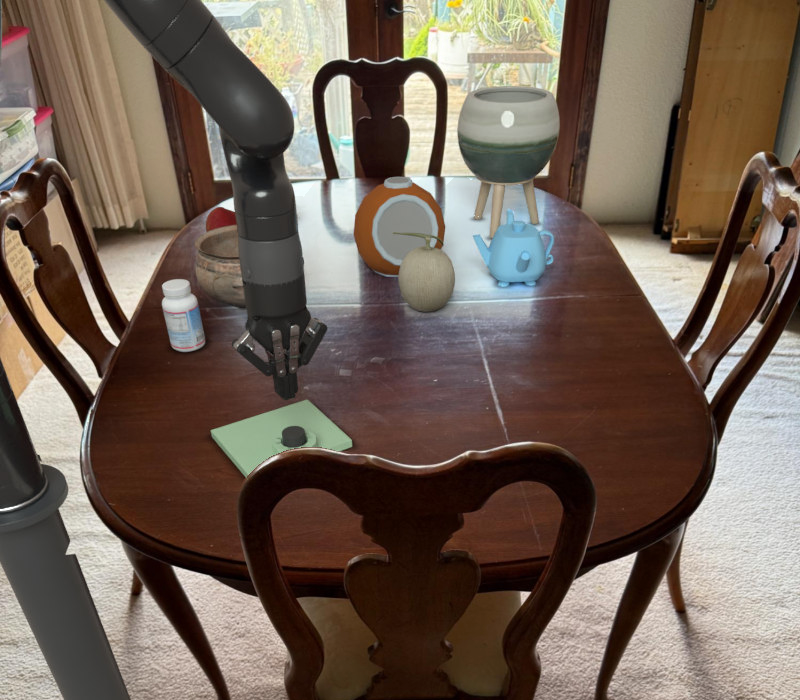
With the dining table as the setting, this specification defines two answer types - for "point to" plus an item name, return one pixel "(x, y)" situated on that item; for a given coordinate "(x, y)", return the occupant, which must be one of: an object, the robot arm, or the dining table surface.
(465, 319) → the dining table surface
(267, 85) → the robot arm
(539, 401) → the dining table surface
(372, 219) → the alarm clock
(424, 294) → the fruit
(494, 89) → the planter
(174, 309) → the pill bottle
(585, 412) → the dining table surface
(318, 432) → the scale
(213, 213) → the apple
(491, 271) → the teapot
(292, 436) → the button
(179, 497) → the dining table surface
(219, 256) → the cooking pot
